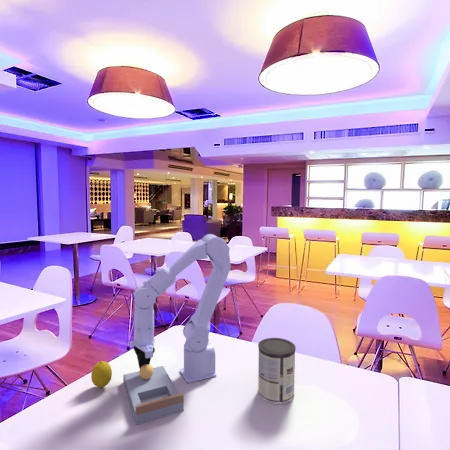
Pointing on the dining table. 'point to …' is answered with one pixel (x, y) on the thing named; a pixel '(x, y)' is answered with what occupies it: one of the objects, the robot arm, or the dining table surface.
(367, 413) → the dining table surface
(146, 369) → the ball
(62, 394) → the dining table surface
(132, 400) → the grey piece
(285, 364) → the coffee can
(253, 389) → the dining table surface
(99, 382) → the lemon
